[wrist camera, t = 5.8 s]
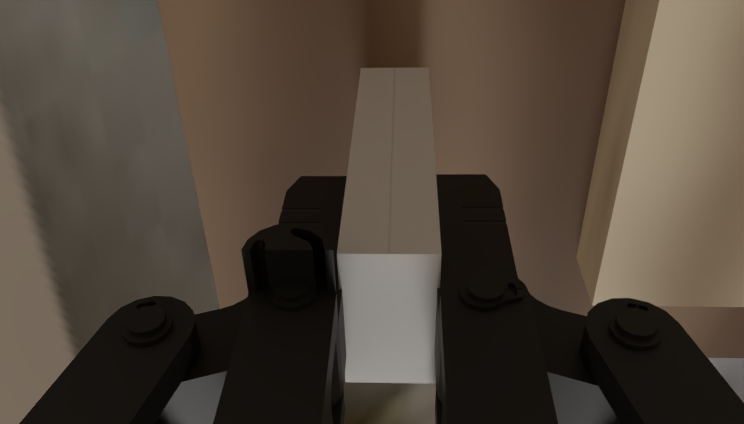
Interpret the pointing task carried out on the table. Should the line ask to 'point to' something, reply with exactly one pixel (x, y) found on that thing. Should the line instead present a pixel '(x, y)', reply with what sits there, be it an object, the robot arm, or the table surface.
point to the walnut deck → (449, 115)
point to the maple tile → (670, 160)
